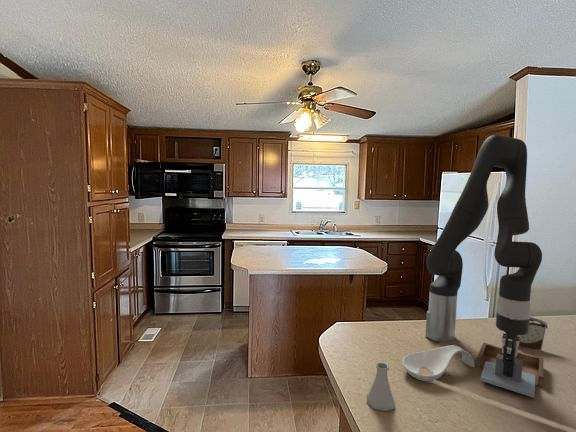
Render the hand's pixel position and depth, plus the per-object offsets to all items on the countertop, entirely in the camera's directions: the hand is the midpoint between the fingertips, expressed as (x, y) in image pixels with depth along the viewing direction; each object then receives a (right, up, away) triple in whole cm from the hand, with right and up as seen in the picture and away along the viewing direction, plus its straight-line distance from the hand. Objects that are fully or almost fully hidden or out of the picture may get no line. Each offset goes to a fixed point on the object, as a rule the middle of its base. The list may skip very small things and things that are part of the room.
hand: (508, 373), depth 91 cm
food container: (+22, -3, +25) cm, 34 cm away
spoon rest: (-16, -4, +7) cm, 18 cm away
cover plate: (0, -2, 0) cm, 2 cm away
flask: (-38, -4, -8) cm, 39 cm away
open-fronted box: (+6, -3, +8) cm, 10 cm away
